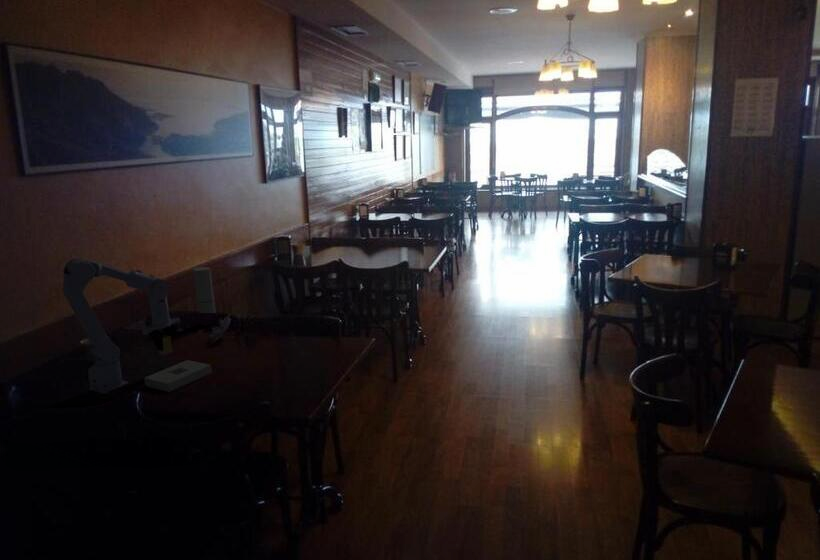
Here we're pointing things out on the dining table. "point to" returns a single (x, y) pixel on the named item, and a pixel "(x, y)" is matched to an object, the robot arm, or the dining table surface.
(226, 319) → the water lily
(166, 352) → the peg
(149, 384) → the well block
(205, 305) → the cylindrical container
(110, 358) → the robot arm
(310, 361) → the dining table surface
